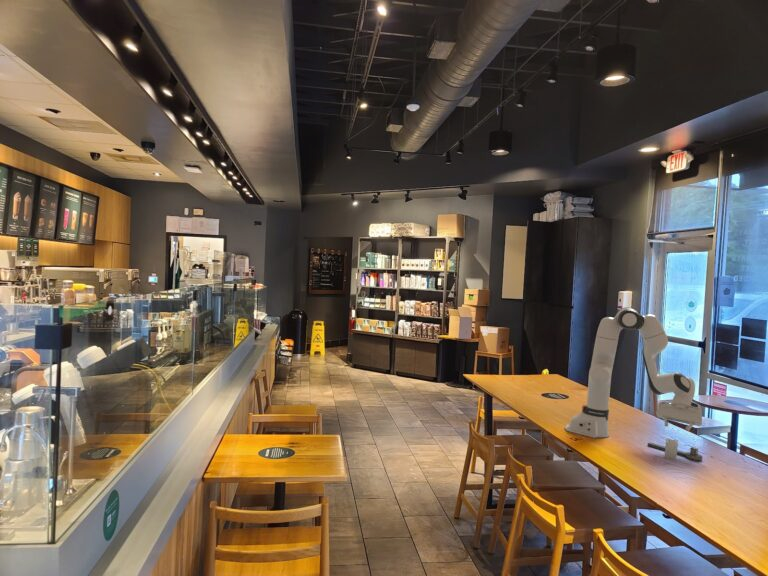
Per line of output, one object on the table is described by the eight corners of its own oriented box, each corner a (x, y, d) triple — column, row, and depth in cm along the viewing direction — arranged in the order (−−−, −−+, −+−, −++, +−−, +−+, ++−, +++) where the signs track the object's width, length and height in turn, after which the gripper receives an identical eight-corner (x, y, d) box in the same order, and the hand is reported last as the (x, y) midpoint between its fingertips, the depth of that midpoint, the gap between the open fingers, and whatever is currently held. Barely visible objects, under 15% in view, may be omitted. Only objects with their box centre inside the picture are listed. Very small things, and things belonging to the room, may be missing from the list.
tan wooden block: (664, 457, 254) (666, 441, 253) (664, 454, 258) (666, 438, 258) (676, 459, 251) (677, 443, 251) (676, 456, 256) (677, 440, 255)
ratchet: (704, 459, 255) (705, 448, 255) (699, 462, 250) (700, 451, 250) (651, 444, 273) (652, 434, 273) (645, 446, 268) (646, 436, 268)
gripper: (658, 397, 274) (653, 419, 266) (704, 406, 261) (699, 429, 254) (659, 404, 277) (654, 426, 270) (704, 413, 265) (700, 436, 257)
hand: (676, 428), depth 262 cm, fingers open, 8 cm apart
